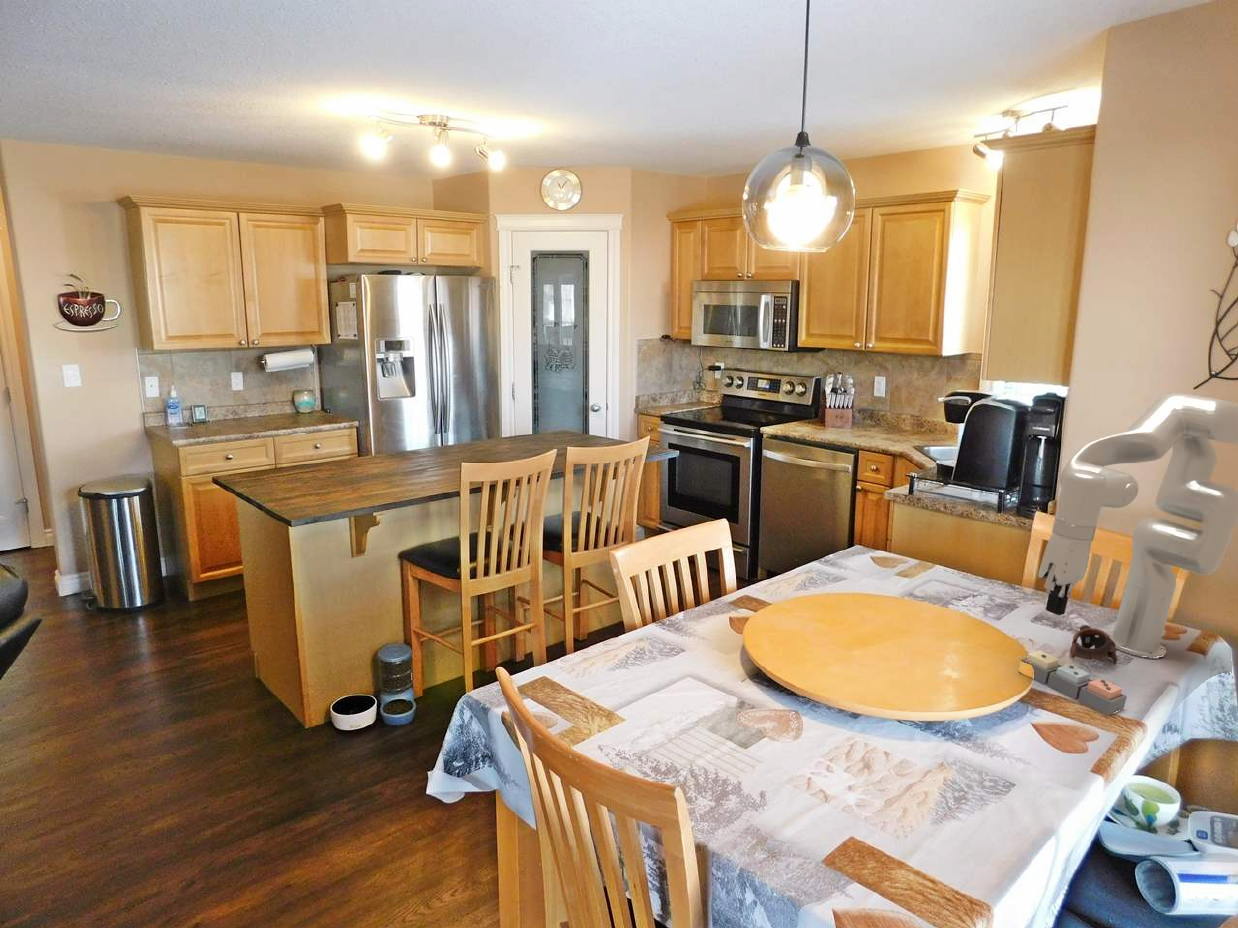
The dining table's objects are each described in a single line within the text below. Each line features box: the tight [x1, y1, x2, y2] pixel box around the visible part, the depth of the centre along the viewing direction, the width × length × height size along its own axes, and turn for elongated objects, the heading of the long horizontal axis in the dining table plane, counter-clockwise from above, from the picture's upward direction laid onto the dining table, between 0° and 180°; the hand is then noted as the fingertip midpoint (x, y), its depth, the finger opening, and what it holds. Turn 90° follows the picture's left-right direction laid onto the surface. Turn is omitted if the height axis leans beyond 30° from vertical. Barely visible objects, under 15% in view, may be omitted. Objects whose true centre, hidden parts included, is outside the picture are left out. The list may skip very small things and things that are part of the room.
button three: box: [1087, 678, 1123, 700], centre depth 162 cm, size 4×4×4 cm
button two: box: [1056, 663, 1091, 685], centre depth 167 cm, size 4×4×4 cm
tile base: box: [1077, 685, 1128, 716], centre depth 162 cm, size 6×6×3 cm
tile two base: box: [1046, 671, 1094, 701], centre depth 168 cm, size 6×6×3 cm
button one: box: [1026, 650, 1060, 670], centre depth 173 cm, size 4×4×4 cm
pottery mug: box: [1069, 624, 1119, 665], centre depth 184 cm, size 12×10×8 cm
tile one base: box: [1020, 656, 1063, 686], centre depth 173 cm, size 6×6×3 cm
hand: (1054, 612), depth 170 cm, fingers closed
